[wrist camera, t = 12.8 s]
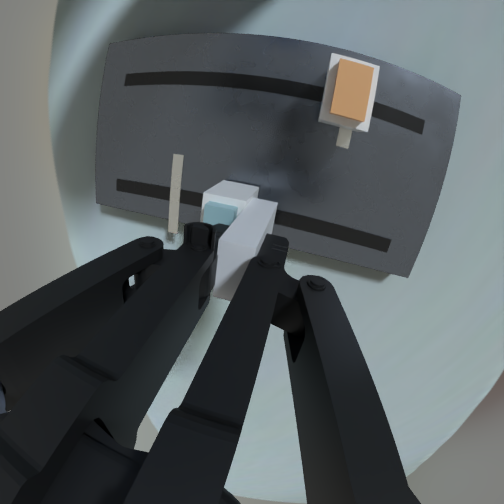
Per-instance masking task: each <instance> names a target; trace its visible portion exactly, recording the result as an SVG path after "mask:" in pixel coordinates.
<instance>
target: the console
mask: <svg viewBox="0 0 504 504" xmlns="http://www.w3.org/2000/svg"><path fill="white" fill-rule="evenodd" d="M332 53H335V54H339V55H343V56H347V57H351V58H354V59H358V60H361V61H365V62H368V63H371V64H374V65H377V66H380V69H379V75H378V81H377V87H376V93H375V99H374V104H373V109H372V114H371V119H370V124H369V129H368V132H355V131H352V130H348V129H345V128H341V127H337V126H333V125H329V124H325V123H321V122H318V119H319V113H320V108H321V103H322V98H323V93H324V87H325V82H326V76H327V70H328V66H329V62H330V58H331V54H332ZM460 100H461V95H459V94H458V93H456V92H454V91H452V90H450V89H448V88H446V87H444V86H442V85H440V84H438V83H436V82H434V81H432V80H430V79H427V78H425V77H423V76H421V75H418V74H416V73H414V72H411V71H409V70H406V69H404V68H401V67H398V66H396V65H393V64H390V63H387V62H385V61H382V60H379V59H376V58H372V57H369V56H366V55H363V54H359V53H356V52H352V51H348V50H344V49H341V48H336V47H332V46H328V45H323V44H318V43H313V42H308V41H302V40H296V39H289V38H282V37H274V36H265V35H253V34H236V33H192V34H175V35H163V36H154V37H146V38H139V39H133V40H127V41H121V42H116V43H111V44H109V48H108V53H107V58H106V63H105V69H104V75H103V81H102V88H101V96H100V104H99V114H98V125H97V140H96V203H97V204H102V205H106V206H111V207H116V208H120V209H125V210H129V211H134V212H138V213H142V214H147V215H151V216H156V217H160V218H165V219H169V224H168V232H171V233H175V234H178V224H179V222H182V223H186V224H187V223H191V222H200V221H201V210H202V201H203V192H205V191H207V190H208V189H210V188H211V187H213V186H215V185H216V184H218V183H220V182H221V181H223V180H226V181H231V182H237V183H242V184H246V185H251V186H256V187H259V191H258V197H257V198H258V199H263V200H268V201H272V202H277V203H278V205H277V210H276V215H275V220H274V225H273V230H272V235H277V236H281V237H285V238H287V240H288V241H289V247H288V248H291V249H295V250H300V251H304V252H308V253H312V254H316V255H320V256H324V257H328V258H332V259H336V260H340V261H344V262H348V263H352V264H356V265H359V266H363V267H367V268H371V269H375V270H379V271H383V272H387V273H391V274H394V275H398V276H402V277H406V278H408V277H409V275H410V272H411V270H412V268H413V265H414V263H415V261H416V258H417V256H418V254H419V251H420V249H421V246H422V244H423V241H424V239H425V236H426V233H427V231H428V228H429V225H430V222H431V220H432V217H433V214H434V211H435V208H436V205H437V202H438V199H439V195H440V192H441V189H442V185H443V182H444V178H445V175H446V171H447V167H448V163H449V159H450V155H451V150H452V146H453V141H454V136H455V131H456V126H457V120H458V114H459V108H460Z"/></svg>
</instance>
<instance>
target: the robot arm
mask: <svg viewBox="0 0 504 504" xmlns="http://www.w3.org/2000/svg"><path fill="white" fill-rule="evenodd" d="M277 205H278V203H277V202H272V201H268V200H263V199H258V198H253V199H252V200H251V201H250V203H249V204H248V205H247V206H246V207H245V208H244V209H243V211H242V212H241V213H240V214H239V215H238V217H237V218H236V219H235V220H234V222H233V223H232V224H231V225H230V226H229V225H225V224H220V223H218V224H215V225H211V224H208V223H204V222H191V223H187V224H185V225H184V243H183V244H182V245H181V246H180V247H179V248H178V249H177V250H168V249H163V242H162V240H160V239H158V238H155V237H150V236H146V237H141V238H138V239H136V240H134V241H131V242H129V243H127V244H125V245H123V246H121V247H119V248H117V249H115V250H113V251H110V252H108V253H106V254H104V255H102V256H100V257H98V258H96V259H94V260H92V261H90V262H88V263H86V264H84V265H82V266H80V267H79V268H77V269H75V270H73V271H71V272H69V273H67V274H65V275H63V276H61V277H60V278H58V279H56V280H54V281H52V282H51V283H49V284H47V285H45V286H43V287H41V288H39V289H38V290H36V291H34V292H32V293H31V294H29V295H27V296H26V297H24V298H22V299H20V300H18V301H17V302H15V303H13V304H12V305H10V306H8V307H7V308H5V309H3V310H2V311H0V504H240V502H239V501H238V500H237V499H236V498H235V497H234V496H233V495H232V494H231V493H230V492H228V491H227V490H226V489H225V488H224V485H225V482H226V479H227V476H228V473H229V470H230V467H231V463H232V460H233V457H234V454H235V451H236V447H237V444H238V441H239V437H240V434H241V430H242V426H243V423H244V419H245V416H246V412H247V409H248V405H249V402H250V398H251V395H252V391H253V388H254V384H255V380H256V377H257V373H258V369H259V366H260V362H261V358H262V355H263V351H264V347H265V343H266V339H267V335H268V331H269V328H270V324H273V325H275V326H277V327H279V328H281V329H283V330H284V335H283V336H284V342H285V348H286V355H287V361H288V368H289V374H290V381H291V388H292V394H293V401H294V408H295V415H296V422H297V429H298V436H299V444H300V451H301V459H302V466H303V474H304V482H305V490H306V498H307V504H421V503H420V502H419V500H418V499H417V498H416V496H415V495H414V494H413V492H412V491H411V490H410V488H409V487H408V484H407V480H406V476H405V473H404V469H403V466H402V463H401V460H400V456H399V453H398V450H397V447H396V444H395V441H394V438H393V435H392V432H391V429H390V426H389V423H388V420H387V417H386V414H385V411H384V409H383V406H382V403H381V400H380V398H379V395H378V392H377V390H376V387H375V384H374V382H373V379H372V377H371V374H370V371H369V369H368V366H367V364H366V361H365V359H364V356H363V354H362V351H361V349H360V347H359V344H358V342H357V339H356V337H355V335H354V332H353V330H352V328H351V325H350V323H349V321H348V318H347V316H346V314H345V311H344V309H343V307H342V305H341V302H340V300H339V298H338V296H337V294H336V291H335V289H334V287H333V285H332V284H331V283H330V282H329V281H327V280H326V279H325V278H323V277H320V276H315V275H306V276H303V277H302V278H301V279H300V280H296V279H294V278H292V277H291V276H289V275H288V274H287V273H286V272H285V270H284V265H285V260H286V256H287V251H288V247H289V241H288V240H287V238H285V237H281V236H277V235H272V230H273V225H274V220H275V215H276V210H277ZM132 275H134V280H135V284H134V285H133V286H129V277H131V276H132ZM213 287H214V290H213V296H214V297H217V298H221V299H225V300H229V301H231V302H230V304H229V306H228V308H227V310H226V312H225V314H224V316H223V319H222V321H221V323H220V325H219V327H218V329H217V331H216V333H215V335H214V337H213V339H212V341H211V343H210V346H209V348H208V350H207V352H206V354H205V356H204V358H203V360H202V362H201V364H200V366H199V368H198V370H197V373H196V375H195V377H194V379H193V381H192V383H191V385H190V387H189V389H188V391H187V393H186V395H185V397H184V399H183V401H182V403H181V405H180V406H179V407H178V408H174V409H173V410H172V411H171V412H170V413H169V415H168V416H167V418H166V420H165V422H164V423H163V425H162V427H161V429H160V431H159V433H158V436H157V437H156V440H155V442H154V443H153V445H152V447H151V449H150V451H149V452H144V451H139V450H134V446H135V443H136V437H137V436H136V435H137V430H138V428H139V426H140V423H141V422H142V420H143V418H144V416H145V415H146V413H147V411H148V409H149V407H150V406H151V404H152V402H153V400H154V398H155V397H156V395H157V393H158V391H159V390H160V388H161V386H162V384H163V382H164V381H165V379H166V377H167V375H168V374H169V372H170V370H171V368H172V366H173V365H174V363H175V361H176V359H177V358H178V356H179V354H180V352H181V351H182V349H183V347H184V345H185V344H186V342H187V340H188V338H189V337H190V335H191V333H192V331H193V330H194V328H195V326H196V324H197V323H198V321H199V319H200V317H201V316H202V314H203V312H204V310H205V309H206V307H207V305H208V303H209V300H210V292H211V290H212V289H213ZM10 410H11V411H10ZM7 411H10V412H7Z"/></svg>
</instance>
